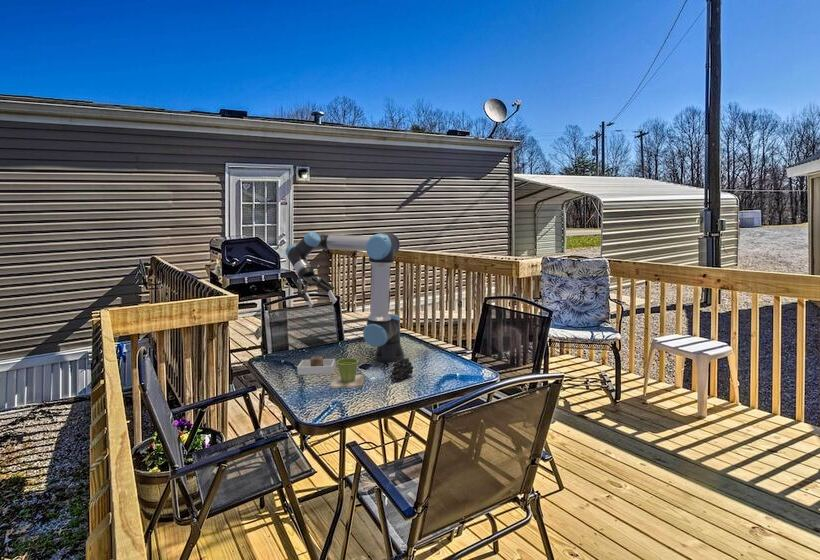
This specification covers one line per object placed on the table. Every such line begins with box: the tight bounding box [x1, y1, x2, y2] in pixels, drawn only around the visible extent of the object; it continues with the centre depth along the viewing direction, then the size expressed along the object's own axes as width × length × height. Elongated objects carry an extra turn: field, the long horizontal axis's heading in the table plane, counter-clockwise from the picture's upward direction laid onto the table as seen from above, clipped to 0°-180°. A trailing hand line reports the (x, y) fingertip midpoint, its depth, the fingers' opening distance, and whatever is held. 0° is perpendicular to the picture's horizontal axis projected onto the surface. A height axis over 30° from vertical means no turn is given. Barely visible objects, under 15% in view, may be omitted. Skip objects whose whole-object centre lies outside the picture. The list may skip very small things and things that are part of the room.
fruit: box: [389, 357, 414, 382], centre depth 221 cm, size 9×8×15 cm
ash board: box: [329, 374, 366, 389], centre depth 217 cm, size 14×14×1 cm
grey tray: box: [297, 358, 337, 376], centre depth 232 cm, size 16×12×4 cm
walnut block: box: [309, 355, 324, 367], centre depth 232 cm, size 5×5×6 cm
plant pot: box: [336, 357, 359, 382], centre depth 216 cm, size 9×9×9 cm
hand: (323, 303), depth 235 cm, fingers open, 13 cm apart
